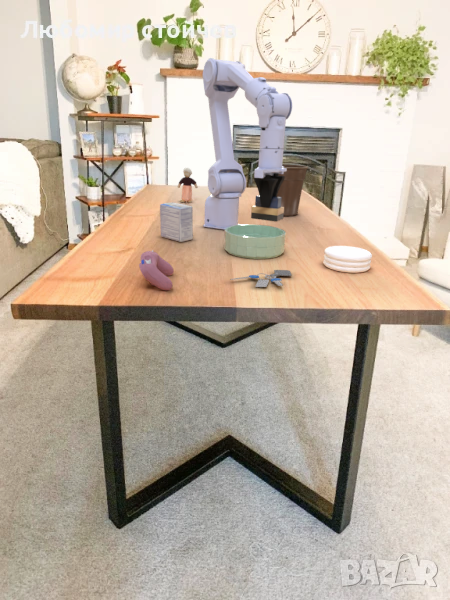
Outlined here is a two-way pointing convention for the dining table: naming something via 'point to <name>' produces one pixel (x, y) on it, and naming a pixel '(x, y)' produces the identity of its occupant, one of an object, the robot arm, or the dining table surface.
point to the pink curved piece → (156, 270)
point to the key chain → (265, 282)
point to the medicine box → (176, 221)
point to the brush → (268, 210)
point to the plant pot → (291, 188)
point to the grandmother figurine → (187, 186)
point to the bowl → (254, 241)
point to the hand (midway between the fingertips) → (267, 205)
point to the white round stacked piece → (347, 259)
